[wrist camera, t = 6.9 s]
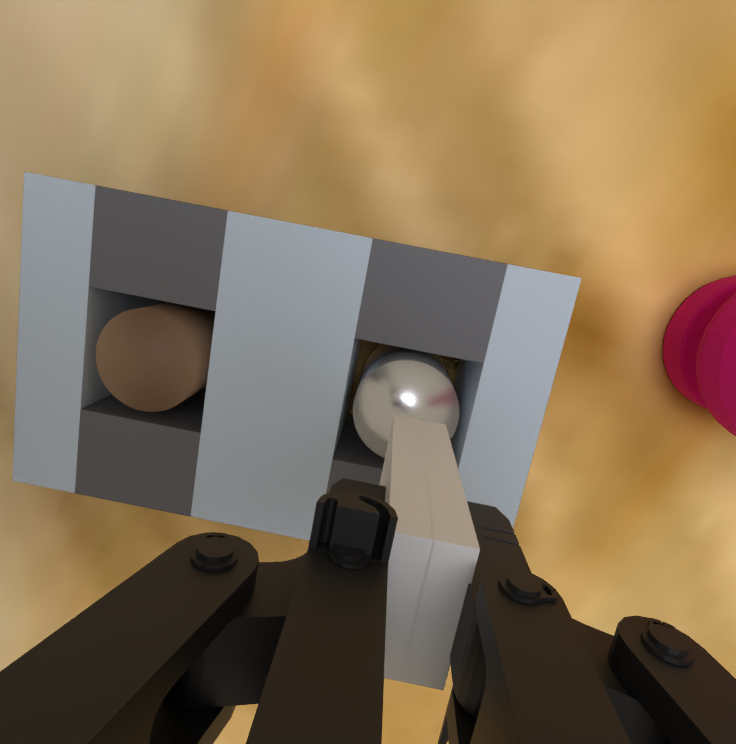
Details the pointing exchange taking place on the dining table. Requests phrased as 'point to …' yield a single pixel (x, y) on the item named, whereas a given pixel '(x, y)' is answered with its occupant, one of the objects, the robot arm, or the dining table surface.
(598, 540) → the dining table surface
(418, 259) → the socket block
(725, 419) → the pepper mill
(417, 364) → the grey metal peg
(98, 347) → the walnut peg
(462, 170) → the dining table surface
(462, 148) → the dining table surface
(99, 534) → the dining table surface
